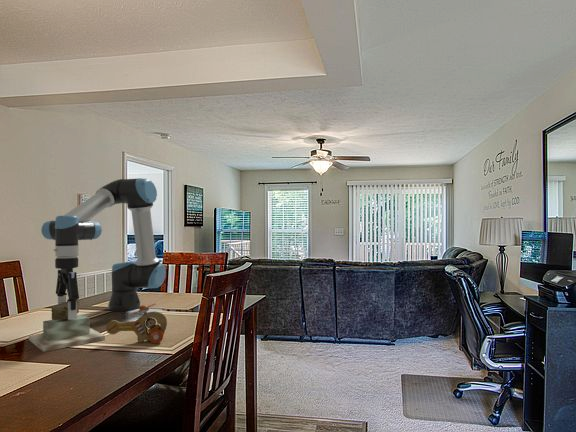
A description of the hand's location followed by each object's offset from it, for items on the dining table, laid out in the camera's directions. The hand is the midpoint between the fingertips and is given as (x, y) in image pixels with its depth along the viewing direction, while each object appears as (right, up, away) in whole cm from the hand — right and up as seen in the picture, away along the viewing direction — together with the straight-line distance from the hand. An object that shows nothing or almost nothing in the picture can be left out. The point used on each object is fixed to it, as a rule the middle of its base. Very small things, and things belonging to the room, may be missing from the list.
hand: (67, 316), depth 152 cm
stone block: (0, 0, 0) cm, 1 cm away
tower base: (0, -9, 0) cm, 9 cm away
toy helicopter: (+28, -9, -3) cm, 30 cm away
